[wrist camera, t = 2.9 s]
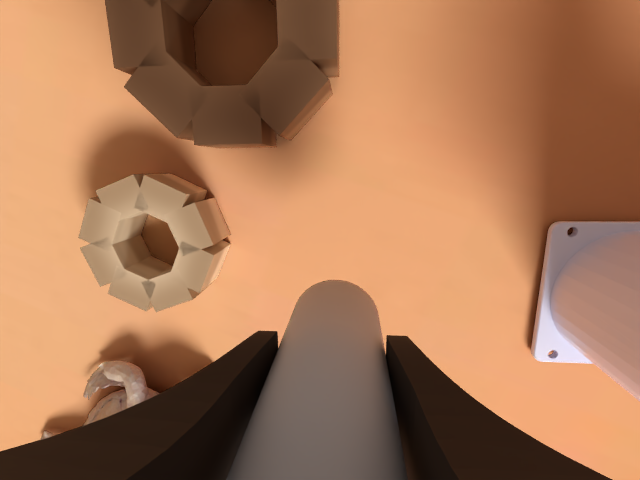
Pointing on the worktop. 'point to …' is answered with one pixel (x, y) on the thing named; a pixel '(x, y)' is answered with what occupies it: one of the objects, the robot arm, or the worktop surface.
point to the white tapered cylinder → (325, 397)
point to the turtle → (119, 400)
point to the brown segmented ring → (231, 100)
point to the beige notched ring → (131, 251)
